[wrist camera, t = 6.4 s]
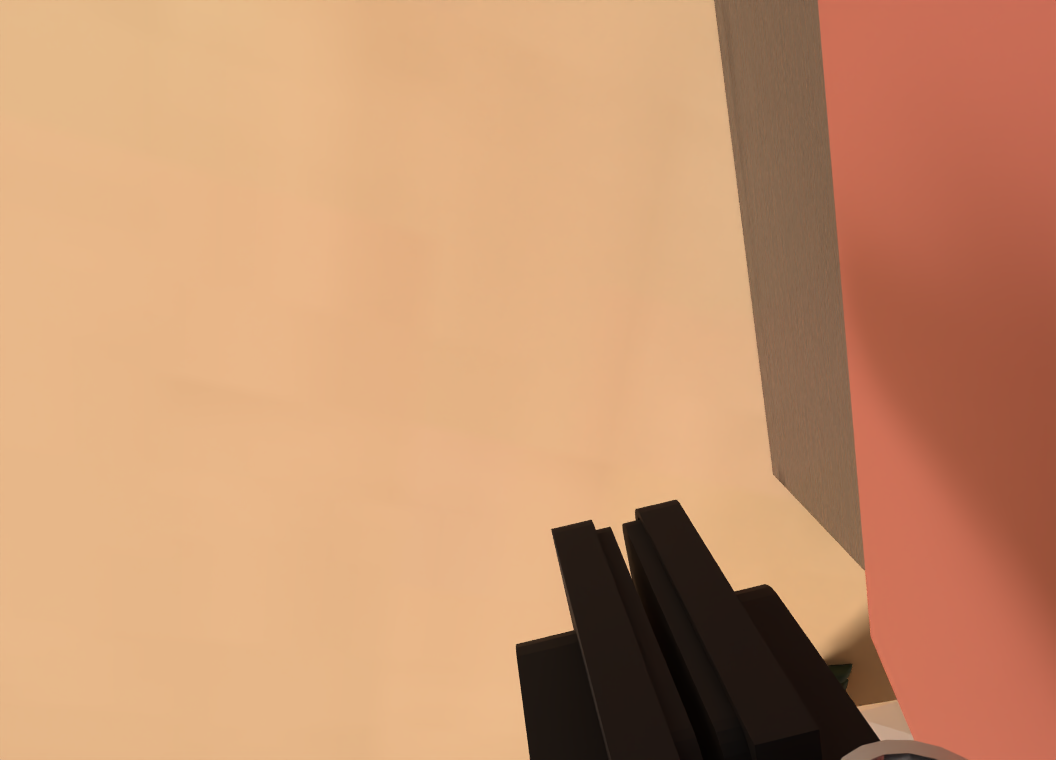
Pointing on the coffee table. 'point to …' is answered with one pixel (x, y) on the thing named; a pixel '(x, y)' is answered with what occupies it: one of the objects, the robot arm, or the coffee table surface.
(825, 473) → the box
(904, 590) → the lid
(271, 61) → the coffee table surface
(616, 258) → the coffee table surface
